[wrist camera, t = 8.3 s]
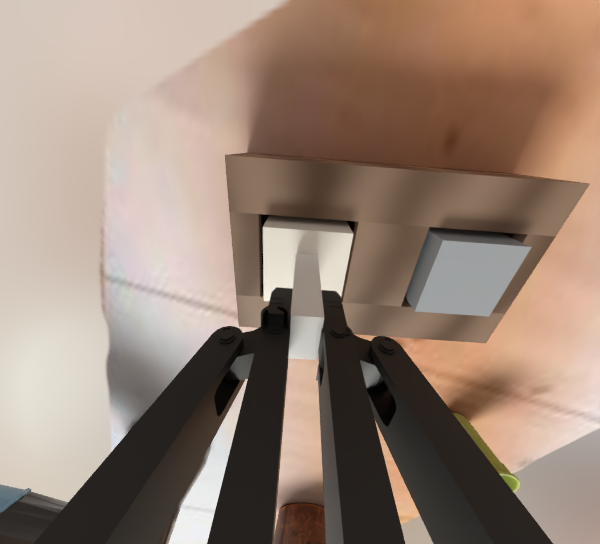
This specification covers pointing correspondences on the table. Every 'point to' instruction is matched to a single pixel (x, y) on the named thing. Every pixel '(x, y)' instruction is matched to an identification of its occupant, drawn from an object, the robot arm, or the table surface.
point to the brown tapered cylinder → (300, 524)
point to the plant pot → (489, 454)
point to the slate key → (463, 271)
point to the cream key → (304, 250)
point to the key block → (390, 230)
